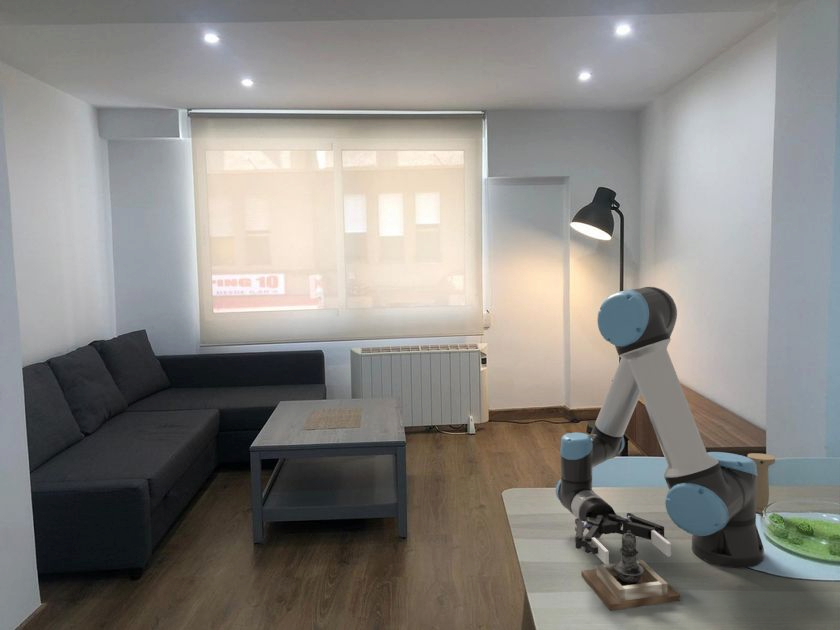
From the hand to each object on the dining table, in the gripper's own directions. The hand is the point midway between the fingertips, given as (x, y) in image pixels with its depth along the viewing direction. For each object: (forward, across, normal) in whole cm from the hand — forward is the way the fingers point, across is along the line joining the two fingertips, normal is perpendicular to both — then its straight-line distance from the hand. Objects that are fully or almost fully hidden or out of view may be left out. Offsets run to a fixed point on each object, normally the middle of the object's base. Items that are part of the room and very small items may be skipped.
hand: (638, 554), depth 135 cm
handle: (-31, -51, -10) cm, 61 cm away
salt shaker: (-4, 0, -8) cm, 9 cm away
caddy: (-4, 0, -10) cm, 10 cm away
